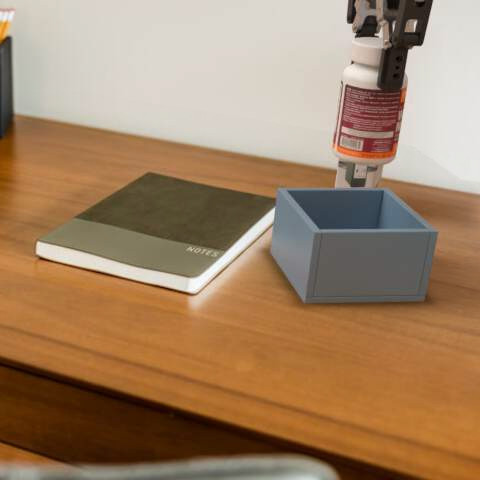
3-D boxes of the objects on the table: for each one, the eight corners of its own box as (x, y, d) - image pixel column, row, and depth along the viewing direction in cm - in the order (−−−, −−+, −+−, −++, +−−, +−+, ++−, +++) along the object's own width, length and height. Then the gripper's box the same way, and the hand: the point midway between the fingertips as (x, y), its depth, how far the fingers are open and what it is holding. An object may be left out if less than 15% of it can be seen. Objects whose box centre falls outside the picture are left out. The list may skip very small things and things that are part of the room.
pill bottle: (405, 166, 86) (425, 49, 82) (344, 167, 86) (361, 48, 81) (379, 147, 92) (397, 36, 88) (322, 147, 91) (337, 35, 87)
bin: (376, 252, 102) (387, 187, 99) (424, 302, 91) (438, 231, 88) (269, 253, 101) (277, 187, 98) (304, 304, 89) (314, 232, 86)
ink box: (341, 193, 120) (354, 107, 116) (379, 200, 118) (394, 112, 114) (329, 214, 113) (342, 123, 108) (369, 221, 111) (384, 129, 106)
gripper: (483, -101, 73) (445, 100, 80) (409, -109, 86) (382, 65, 93) (396, -105, 72) (365, 99, 79) (334, -112, 85) (312, 64, 92)
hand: (374, 80), depth 86 cm, fingers closed on pill bottle, 6 cm apart
